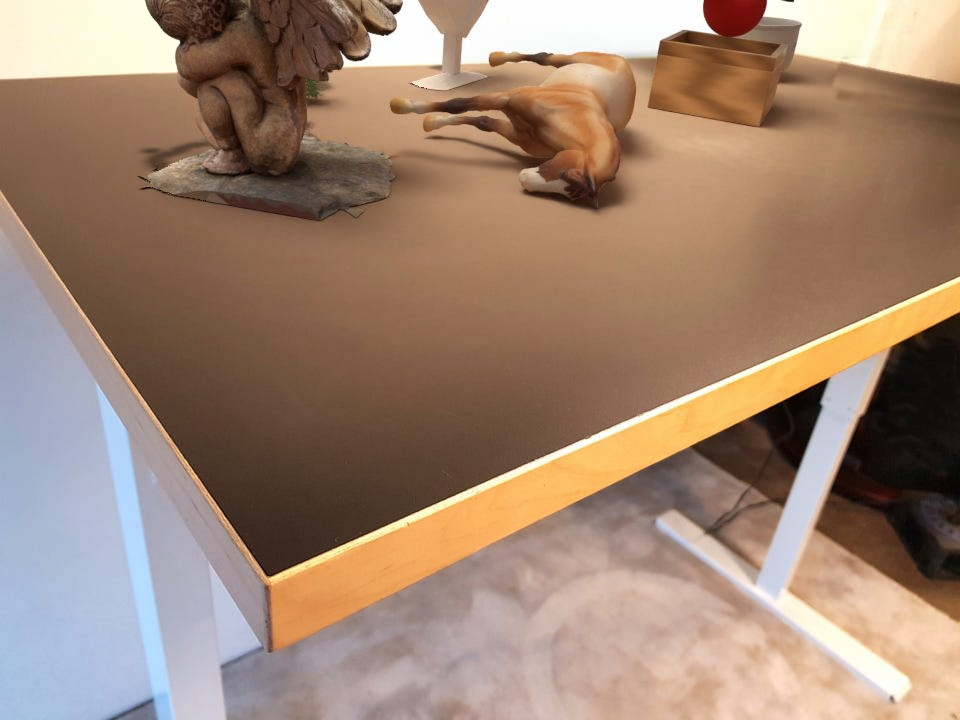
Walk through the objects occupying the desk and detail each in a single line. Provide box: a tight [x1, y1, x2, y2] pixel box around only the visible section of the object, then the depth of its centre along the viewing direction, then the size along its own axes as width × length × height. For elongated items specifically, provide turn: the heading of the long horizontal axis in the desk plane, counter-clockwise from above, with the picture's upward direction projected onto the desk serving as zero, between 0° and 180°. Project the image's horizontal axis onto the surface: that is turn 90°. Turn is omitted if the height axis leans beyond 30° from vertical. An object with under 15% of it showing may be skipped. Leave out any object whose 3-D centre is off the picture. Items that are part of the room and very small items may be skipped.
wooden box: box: [647, 29, 788, 128], centre depth 95 cm, size 13×13×8 cm
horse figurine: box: [389, 51, 637, 209], centre depth 74 cm, size 31×8×21 cm
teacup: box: [738, 16, 803, 73], centre depth 119 cm, size 14×11×8 cm
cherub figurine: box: [144, 0, 404, 222], centre depth 58 cm, size 18×18×18 cm
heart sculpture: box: [411, 0, 490, 91], centre depth 94 cm, size 16×5×18 cm, turn 153°
